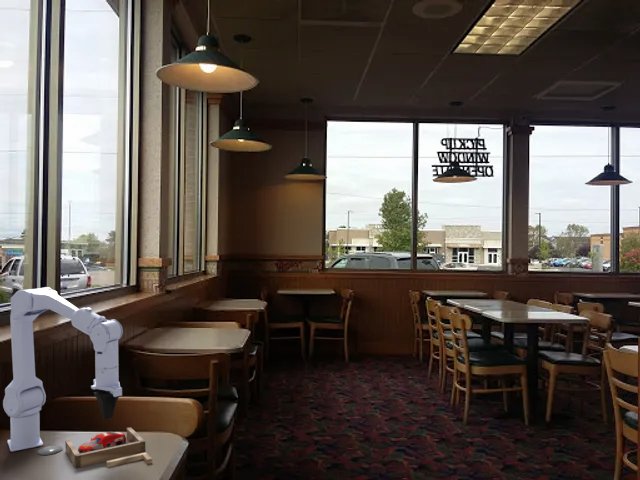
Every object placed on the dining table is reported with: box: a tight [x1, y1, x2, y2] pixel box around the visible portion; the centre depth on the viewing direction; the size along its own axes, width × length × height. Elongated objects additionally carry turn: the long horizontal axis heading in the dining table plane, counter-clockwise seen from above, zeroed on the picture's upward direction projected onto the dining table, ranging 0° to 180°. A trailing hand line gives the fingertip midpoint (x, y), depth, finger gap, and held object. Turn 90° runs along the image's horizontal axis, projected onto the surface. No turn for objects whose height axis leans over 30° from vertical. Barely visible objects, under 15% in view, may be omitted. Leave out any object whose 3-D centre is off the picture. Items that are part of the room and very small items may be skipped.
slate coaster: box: [37, 445, 64, 456], centre depth 151 cm, size 6×6×1 cm
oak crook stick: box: [105, 451, 153, 468], centre depth 142 cm, size 10×5×1 cm, turn 124°
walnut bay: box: [64, 426, 146, 469], centre depth 150 cm, size 14×17×3 cm
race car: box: [77, 431, 127, 454], centre depth 152 cm, size 13×5×4 cm, turn 141°
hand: (107, 418), depth 147 cm, fingers closed
